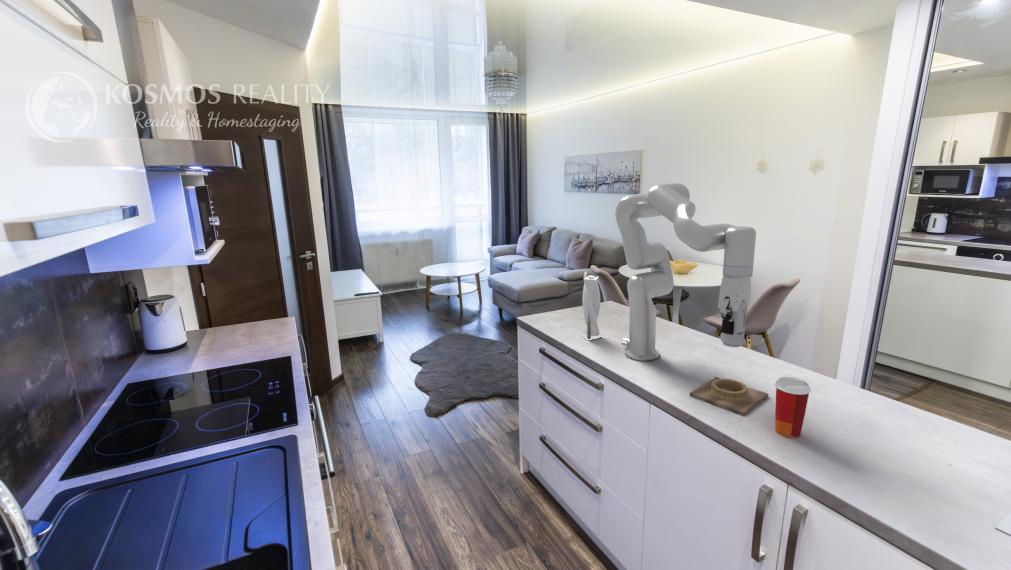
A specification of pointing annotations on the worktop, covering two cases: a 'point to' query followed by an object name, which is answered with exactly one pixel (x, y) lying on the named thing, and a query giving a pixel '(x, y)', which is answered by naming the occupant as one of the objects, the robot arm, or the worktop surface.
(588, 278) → the skyscraper
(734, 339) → the energy drink can
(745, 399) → the ring stand
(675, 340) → the worktop surface
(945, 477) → the worktop surface
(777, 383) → the paper cup
